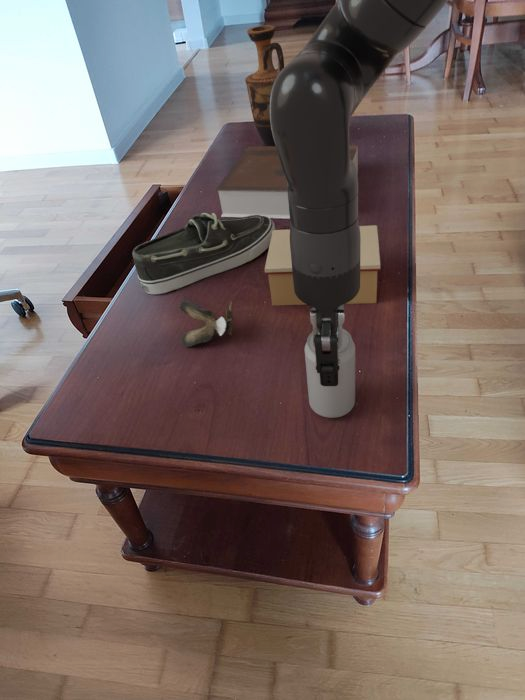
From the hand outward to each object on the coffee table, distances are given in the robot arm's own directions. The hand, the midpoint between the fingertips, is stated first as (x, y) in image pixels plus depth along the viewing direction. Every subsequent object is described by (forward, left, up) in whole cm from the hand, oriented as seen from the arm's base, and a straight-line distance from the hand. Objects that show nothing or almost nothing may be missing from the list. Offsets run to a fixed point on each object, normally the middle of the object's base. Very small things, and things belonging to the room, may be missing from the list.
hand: (330, 364), depth 67 cm
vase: (+18, -93, -8) cm, 95 cm away
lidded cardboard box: (+2, -29, -8) cm, 30 cm away
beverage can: (0, 0, -8) cm, 8 cm away
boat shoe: (+25, -38, -8) cm, 46 cm away
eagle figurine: (+21, -15, -8) cm, 27 cm away
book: (+11, -67, -8) cm, 68 cm away
